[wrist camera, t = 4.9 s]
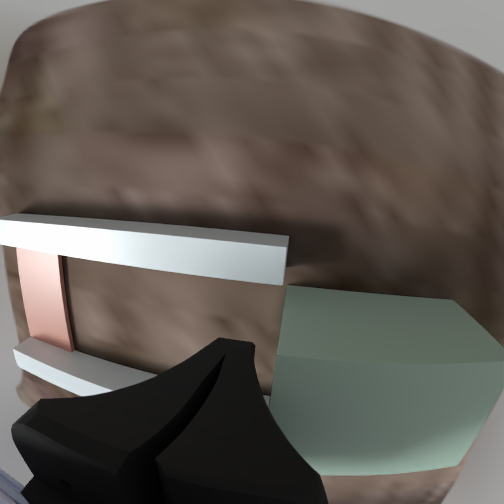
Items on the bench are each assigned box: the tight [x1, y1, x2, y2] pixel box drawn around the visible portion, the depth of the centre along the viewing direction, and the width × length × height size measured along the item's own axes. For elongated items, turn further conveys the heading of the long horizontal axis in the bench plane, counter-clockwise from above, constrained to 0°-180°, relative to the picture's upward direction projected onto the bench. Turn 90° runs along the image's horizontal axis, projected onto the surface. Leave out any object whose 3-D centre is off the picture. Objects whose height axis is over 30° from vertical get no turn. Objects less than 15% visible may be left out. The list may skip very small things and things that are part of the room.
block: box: [269, 285, 504, 475], centre depth 9 cm, size 4×7×5 cm, turn 86°
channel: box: [0, 213, 289, 407], centre depth 12 cm, size 8×14×2 cm, turn 86°
